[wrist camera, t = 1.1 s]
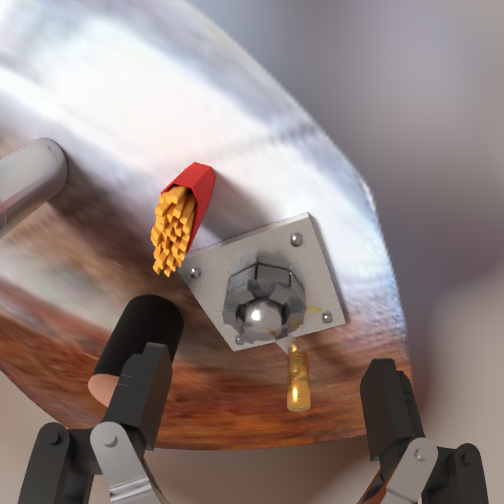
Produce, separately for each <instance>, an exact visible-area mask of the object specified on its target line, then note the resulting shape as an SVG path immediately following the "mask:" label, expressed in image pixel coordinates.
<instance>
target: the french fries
mask: <svg viewBox="0 0 504 504" xmlns="http://www.w3.org/2000/svg"><path fill="white" fill-rule="evenodd" d="M214 182H215V175H214V173H213V171H212V169H211V167H210V166H207V165H203V164H200V163H196V162H194V163H193V164H192V165H190V166H189V167H187V168H186V169H185V170H184V171H183V172H182V173H181V174H180V175H179V176H178V177H177V178H175V179H174V180H173V181H172V182H171V183H170V184H169V185H168V186H167V187H166V188H165V189H164V190H163V191H162V192H161V196H160V197H159V203H160V204H159V205H158V206H156V209H155V213H156V214H157V215H156V223H155V225H154V227H153V228H152V232H151V233H152V235H151V241H152V242H153V245H154V246H155V247H156V249H155V251H154V258H155V259H156V261H155V264H154V266H153V269H154V271H155V272H156V273H158V274H159V273H160V271H161V269H162V270H163V269H164V267H165V265H166V264H167V265H166V268H165V271H164V273H165V274H166V275H167V276H168V277H169V275H170V272H171V270H173V271H174V272H175V269H176V265H178V266H179V267H180V268H181V265H182V262H183V260H184V257H185V254H186V253H187V252H188V251H189V249H190V247H191V245H192V242H193V240H194V237H195V235H196V233H197V231H198V228H199V226H200V224H201V221H202V219H203V217H204V214H205V212H206V210H207V208H208V205H209V201H210V198H211V194H212V190H213V186H214Z"/></svg>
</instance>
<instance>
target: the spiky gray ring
mask: <svg viewBox="0 0 504 504" xmlns="http://www.w3.org/2000/svg"><path fill="white" fill-rule="evenodd" d="M257 291H262V292H267V293H269V299H271V300H274V301H276V302H279V303H281V304H283V305H284V304H285V303H287V304H288V305H287V308H286V310H284V311H282V330H281V333H280V335H279V336H278V337H276V338H275V342H276V343H277V344H278V345H279V346H280V347H281V349H282V350H283V351H284V352H285V353H286V354H287V355H288V357H287V408H288V409H289V410H290V411H294V412H302V411H306V410H308V409H309V408H310V383H309V364H308V355H307V353H306V351H305V350H304V349H303V347H302V346H301V345H300V344H299V343H298V342H297V340H296V339H295V338H294V337H293V336H292V334H291V332H294V331H296V329H298V328H299V325H303V324H304V314H305V312H306V309H307V305H306V294H305V291H304V290H303V288H302V287H301V286H300V284H299V283H298V281H297V280H296V279H295V277H294V276H293V274H292V273H291V272H290V273H289V271H287V270H282V269H277V268H273V267H268V266H263V265H258V267H257V266H256V265H254V266H252V267H250V268H248V269H246V270H244V271H242V272H240V273H238V274H236V275H234V276H232V277H230V279H229V281H228V286H227V291H226V295H225V301H224V306H223V311H222V316H223V322H224V324H230V325H231V326H232V327H233V328H234V329H235V330H236V331H237V332H238V333H239V340H242V341H245V342H247V343H250V344H253V343H254V342H255V340H254V339H252V338H250V337H248V336H247V335H246V334H245V332H244V329H243V326H244V318H245V311H246V308H245V307H244V306H243V305H242V304H244V303H246V302H248V301H250V300H252V299H255V292H257Z"/></svg>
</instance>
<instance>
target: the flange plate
mask: <svg viewBox="0 0 504 504" xmlns="http://www.w3.org/2000/svg"><path fill="white" fill-rule="evenodd" d="M254 265H256V266H257V267H258V265H263V266H268V267H273V268H277V269H282V270H287V271H289V273H290V272H291V273H292V274H293V276H294V277H295V279H296V280H297V281H298V283H299V284H300V286H301V287H302V288H303V290H304V291H305V294H306V305H307V309H306V312H305V314H304V324H303V325H299V328H298V329H296V331H294V332H291V334H292V336H293V337H297V336H301V335H305V334H309V333H313V332H317V331H320V330H324V329H328V328H331V327H335V326H338V325H342V324H345V323H346V322H345V317H344V314H343V311H342V308H341V304H340V301H339V298H338V295H337V292H336V289H335V286H334V283H333V281H332V278H331V275H330V272H329V269H328V266H327V263H326V260H325V258H324V255H323V252H322V249H321V246H320V244H319V241H318V238H317V235H316V233H315V230H314V227H313V225H312V222H311V219H310V217H309V214H308V212H305V213H302V214H299V215H296V216H293V217H290V218H287V219H284V220H282V221H279V222H276V223H273V224H270V225H267V226H264V227H261V228H258V229H255V230H253V231H250V232H247V233H244V234H241V235H238V236H235V237H233V238H230V239H227V240H224V241H221V242H219V243H216V244H213V245H210V246H207V247H204V248H202V249H199V250H196V251H193V252H191V253H188V254H185V257H184V260H183V262H182V265H181V268H180V267H179V266H178V265H176V270H177V271H178V273H179V274H180V276H181V277H182V279H183V280H184V282H185V283H186V285H187V286H188V288H189V289H190V291H191V292H192V294H193V295H194V296H195V298H196V299H197V301H198V302H199V304H200V305H201V307H202V308H203V310H204V311H205V312H206V314H207V315H208V317H209V318H210V320H211V321H212V322H213V324H214V325H215V327H216V328H217V329H218V331H219V332H220V334H221V335H222V336H223V338H224V339H225V340H226V342H227V343H228V345H229V346H230V347H231V349H232V350H233V351H237V350H241V349H246V348H251V347H255V346H260V345H264V344H269V343H273V342H275V338H276V337H278V336H279V335H280V333H281V330H282V311H284V310H286V308H287V305H288V304H287V303H285V304H284V305H283V304H281V303H279V302H276V301H274V300H271V299H269V293H267V292H262V291H257V292H255V299H252V300H250V301H248V302H246V303H244V304H242V305H243V306H244V307H245V308H246V311H245V318H244V326H243V329H244V332H245V334H246V335H247V336H248V337H250V338H252V339H254V340H255V342H254V343H253V344H250V343H247V342H245V341H242V340H239V333H238V332H237V331H236V330H235V329H234V328H233V327H232V326H231V325H230V324H224V322H223V316H222V311H223V306H224V301H225V295H226V291H227V286H228V281H229V279H230V277H232V276H234V275H236V274H238V273H240V272H242V271H244V270H246V269H248V268H250V267H252V266H254Z"/></svg>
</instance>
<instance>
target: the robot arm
mask: <svg viewBox="0 0 504 504" xmlns="http://www.w3.org/2000/svg"><path fill="white" fill-rule="evenodd" d="M67 177H68V166H67V161H66V158H65V155H64V153H63V151H62V150H61V148H60V147H59V146H58V145H57V144H56V143H55V142H53V141H52V140H50V139H46V138H41V139H38V140H35V141H33V142H31V143H29V144H27V145H25V146H23V147H20V148H18V149H16V150H14V151H12V152H10V153H8V154H6V155H4V156H3V157H1V158H0V240H1V239H2V238H3V237H4V236H5V235H6V234H7V233H9V232H10V231H11V230H12V229H13V228H14V227H15V226H17V225H18V224H19V223H20V222H21V221H23V220H24V219H25V218H26V217H27V216H29V215H30V214H31V213H32V212H34V211H35V210H36V209H37V208H39V207H40V206H41V205H43V204H44V203H45V202H47V201H48V200H49V199H50V198H52V197H53V196H54V195H56V194H57V193H58V192H60V191H61V190H62V189H63V188H64V186H65V184H66V181H67ZM171 380H172V364H171V360H170V355H169V350H168V346H167V345H164V344H158V343H151V342H148V343H147V344H146V346H145V349H144V351H143V354H142V355H141V354H135V353H134V354H133V355H132V356H131V357H130V358H129V359H128V360H127V361H126V362H125V364H124V367H123V369H122V372H121V376H120V377H119V379H118V382H117V385H116V387H115V390H114V392H113V395H112V398H111V400H110V403H109V406H108V408H107V411H106V414H105V416H104V418H103V420H102V421H101V422H100V423H99V424H98V425H97V426H95V427H93V428H90V429H66V428H65V427H64V426H63V425H61V424H59V423H55V422H52V423H47V424H45V425H44V426H43V427H42V428H41V429H40V431H39V433H38V436H37V439H36V442H35V445H34V448H33V451H32V454H31V457H30V460H29V463H28V467H27V470H26V474H25V478H24V481H23V485H22V488H21V492H20V496H19V500H18V504H88V502H89V497H90V492H91V487H92V482H93V478H94V475H98V474H99V475H104V478H105V480H106V482H107V484H108V486H109V489H110V492H111V494H110V499H111V502H112V504H170V503H169V501H168V500H167V498H166V497H165V495H164V494H163V492H162V490H161V489H160V487H159V485H158V483H157V482H156V480H155V478H154V476H153V474H152V473H151V471H150V469H149V467H148V465H147V463H146V461H145V459H144V453H145V449H146V450H150V451H153V450H154V446H155V442H156V438H157V434H158V430H159V426H160V422H161V418H162V414H163V410H164V406H165V403H166V399H167V395H168V391H169V388H170V384H171ZM412 392H413V391H412V387H411V384H410V380H409V379H408V378H407V376H406V375H405V374H404V372H403V371H397V370H396V366H395V363H394V360H393V359H392V358H375V359H373V360H372V362H371V364H370V365H369V367H368V369H367V371H366V373H365V375H364V376H363V378H362V380H361V384H360V395H361V401H362V406H363V412H364V419H365V425H366V432H367V438H368V445H369V453H370V460H371V462H372V461H380V467H381V468H380V469H379V471H378V473H377V474H376V476H375V477H374V479H373V481H372V482H371V484H370V485H369V487H368V488H367V490H366V491H365V493H364V494H363V496H362V497H361V499H360V500H359V501H358V503H357V504H418V503H417V501H418V498H419V497H420V495H421V498H422V504H489V502H488V495H487V488H486V482H485V476H484V471H483V465H482V461H481V456H480V452H479V450H478V449H477V448H476V446H474V445H473V444H469V443H466V444H462V445H461V446H459V447H458V448H457V449H451V448H443V447H438V446H436V445H435V444H434V443H433V442H432V441H431V440H429V439H427V438H426V437H425V435H424V432H423V428H422V424H421V420H420V416H419V412H418V409H417V405H416V402H415V398H414V394H413V393H412Z"/></svg>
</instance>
